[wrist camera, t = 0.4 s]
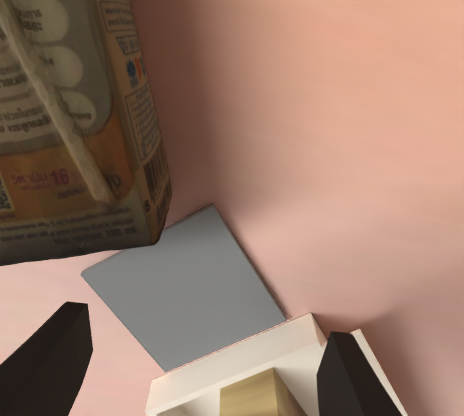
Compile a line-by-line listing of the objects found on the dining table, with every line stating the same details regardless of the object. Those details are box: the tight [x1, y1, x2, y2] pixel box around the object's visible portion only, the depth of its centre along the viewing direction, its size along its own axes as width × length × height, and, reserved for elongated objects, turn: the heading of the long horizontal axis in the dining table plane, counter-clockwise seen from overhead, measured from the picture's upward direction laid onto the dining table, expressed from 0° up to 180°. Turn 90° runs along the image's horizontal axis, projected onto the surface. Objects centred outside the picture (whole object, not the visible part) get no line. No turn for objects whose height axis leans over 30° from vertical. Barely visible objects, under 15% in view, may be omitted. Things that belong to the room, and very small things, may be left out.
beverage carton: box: [0, 0, 172, 266], centre depth 16 cm, size 8×19×7 cm, turn 8°
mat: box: [81, 204, 286, 372], centre depth 25 cm, size 9×9×1 cm
